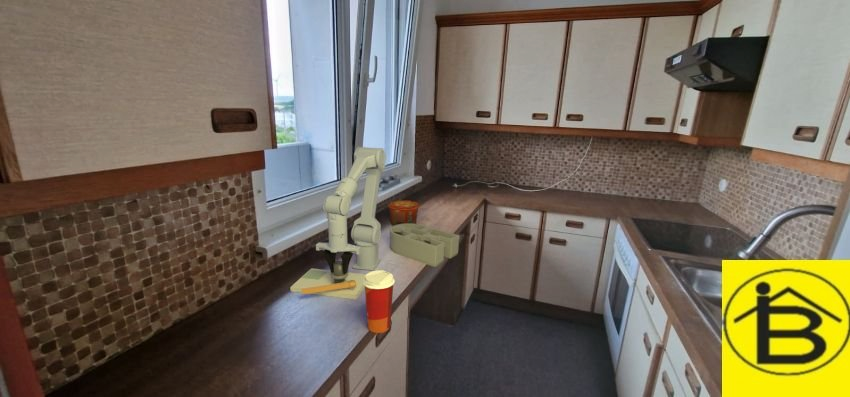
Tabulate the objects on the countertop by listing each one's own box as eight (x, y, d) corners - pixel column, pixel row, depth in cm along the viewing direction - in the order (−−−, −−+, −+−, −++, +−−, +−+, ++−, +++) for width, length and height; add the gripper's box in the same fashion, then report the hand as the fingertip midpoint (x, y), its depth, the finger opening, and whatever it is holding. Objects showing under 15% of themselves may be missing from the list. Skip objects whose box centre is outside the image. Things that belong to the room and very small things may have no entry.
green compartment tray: (435, 268, 133) (436, 247, 130) (381, 249, 149) (381, 230, 147) (458, 255, 145) (460, 235, 143) (407, 239, 162) (407, 221, 160)
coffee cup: (379, 314, 102) (379, 266, 98) (400, 326, 96) (401, 275, 93) (357, 327, 95) (355, 276, 92) (378, 340, 90) (377, 287, 86)
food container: (421, 220, 189) (421, 200, 186) (416, 229, 174) (416, 208, 171) (391, 218, 191) (392, 198, 188) (384, 227, 176) (384, 206, 173)
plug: (335, 275, 119) (334, 258, 117) (350, 277, 118) (350, 260, 116) (327, 283, 113) (327, 266, 112) (344, 285, 112) (343, 267, 111)
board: (311, 272, 126) (311, 266, 125) (370, 278, 122) (370, 272, 122) (290, 291, 113) (290, 284, 112) (356, 299, 109) (356, 292, 108)
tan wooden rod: (301, 291, 107) (301, 287, 107) (355, 283, 113) (355, 279, 113) (302, 295, 105) (302, 291, 105) (356, 287, 111) (356, 283, 111)
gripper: (310, 235, 109) (312, 275, 112) (355, 239, 106) (356, 280, 110) (320, 227, 116) (322, 265, 119) (363, 231, 113) (363, 270, 117)
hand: (339, 272), depth 115 cm, fingers closed on plug, 4 cm apart
